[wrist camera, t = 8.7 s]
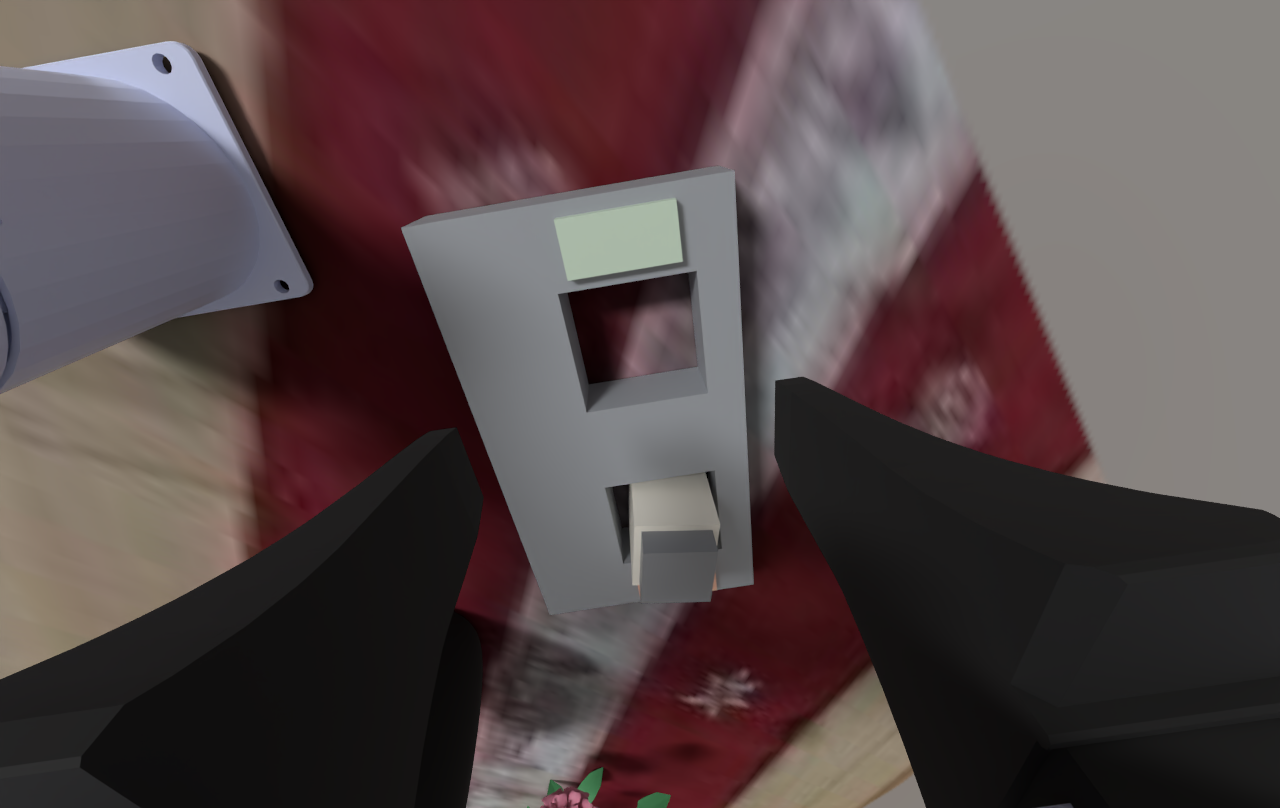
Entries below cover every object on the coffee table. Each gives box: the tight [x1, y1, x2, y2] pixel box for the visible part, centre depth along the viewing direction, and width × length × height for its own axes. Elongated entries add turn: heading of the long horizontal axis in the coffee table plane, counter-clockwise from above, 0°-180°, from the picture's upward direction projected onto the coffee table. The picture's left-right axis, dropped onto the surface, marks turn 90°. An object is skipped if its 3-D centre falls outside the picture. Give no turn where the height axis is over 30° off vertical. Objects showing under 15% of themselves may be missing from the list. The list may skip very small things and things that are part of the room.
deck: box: [401, 166, 754, 615], centre depth 21 cm, size 11×20×3 cm, turn 9°
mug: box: [414, 612, 483, 808], centre depth 26 cm, size 12×9×10 cm
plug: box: [628, 472, 720, 604], centre depth 22 cm, size 4×4×6 cm
